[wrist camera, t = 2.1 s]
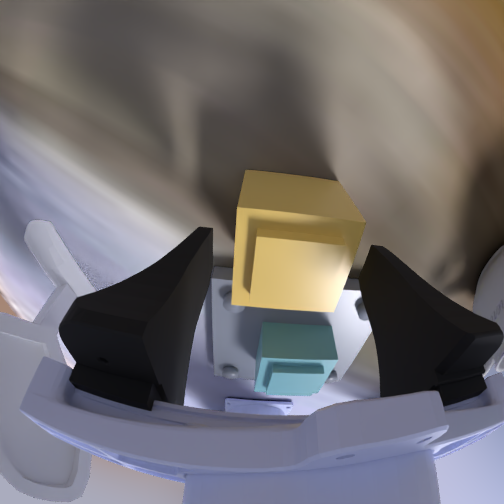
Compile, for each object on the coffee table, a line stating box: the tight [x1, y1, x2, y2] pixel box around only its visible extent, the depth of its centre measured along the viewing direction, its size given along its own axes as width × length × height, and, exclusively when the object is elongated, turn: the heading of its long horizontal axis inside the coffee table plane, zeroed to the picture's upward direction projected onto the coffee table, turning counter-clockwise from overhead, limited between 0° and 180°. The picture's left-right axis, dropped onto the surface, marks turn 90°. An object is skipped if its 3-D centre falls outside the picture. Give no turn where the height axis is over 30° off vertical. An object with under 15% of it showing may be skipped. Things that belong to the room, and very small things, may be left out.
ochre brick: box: [231, 170, 366, 312], centre depth 13 cm, size 5×5×5 cm
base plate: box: [212, 266, 372, 396], centre depth 19 cm, size 12×12×5 cm
